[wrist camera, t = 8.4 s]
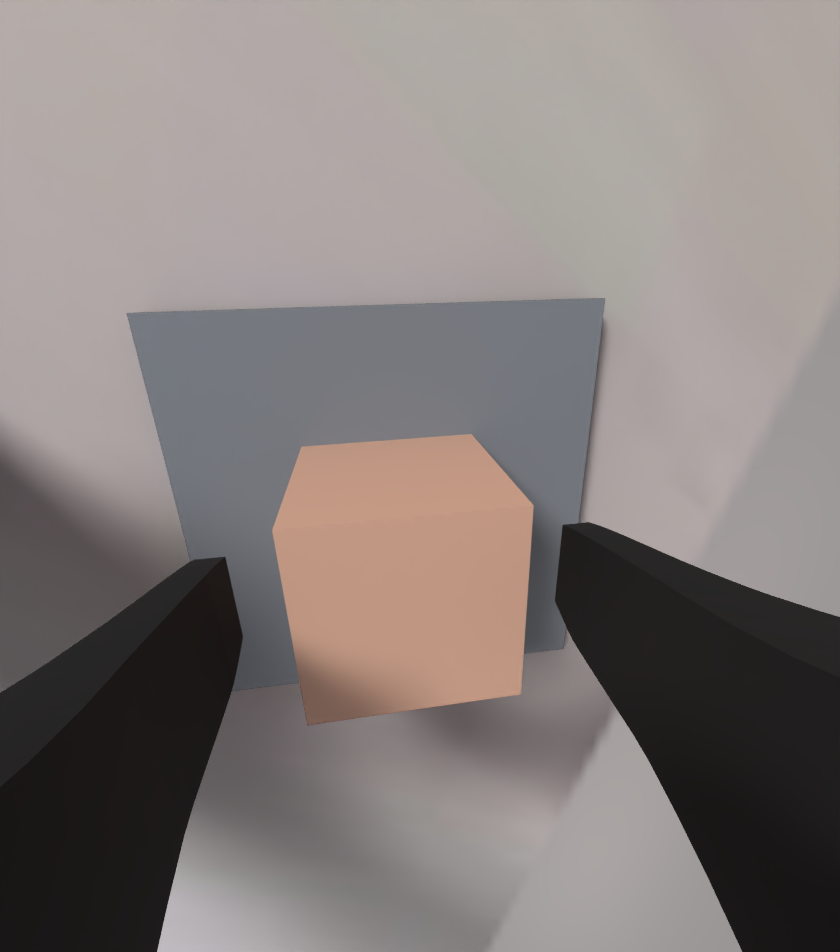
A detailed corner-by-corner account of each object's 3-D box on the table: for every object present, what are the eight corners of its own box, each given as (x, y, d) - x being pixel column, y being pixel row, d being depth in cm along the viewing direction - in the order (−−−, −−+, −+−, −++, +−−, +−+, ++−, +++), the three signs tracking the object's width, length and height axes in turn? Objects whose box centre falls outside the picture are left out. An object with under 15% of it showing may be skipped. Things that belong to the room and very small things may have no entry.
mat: (229, 676, 14) (224, 692, 14) (138, 312, 10) (126, 313, 10) (556, 636, 16) (563, 648, 15) (592, 298, 11) (605, 298, 11)
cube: (321, 590, 13) (307, 725, 9) (301, 446, 11) (271, 529, 7) (470, 574, 13) (520, 694, 9) (471, 433, 12) (533, 505, 8)
